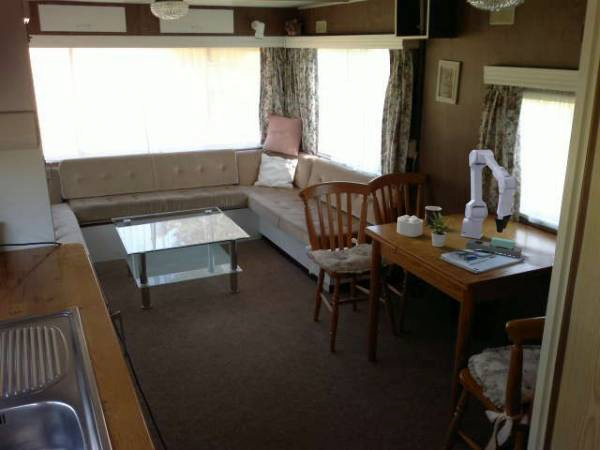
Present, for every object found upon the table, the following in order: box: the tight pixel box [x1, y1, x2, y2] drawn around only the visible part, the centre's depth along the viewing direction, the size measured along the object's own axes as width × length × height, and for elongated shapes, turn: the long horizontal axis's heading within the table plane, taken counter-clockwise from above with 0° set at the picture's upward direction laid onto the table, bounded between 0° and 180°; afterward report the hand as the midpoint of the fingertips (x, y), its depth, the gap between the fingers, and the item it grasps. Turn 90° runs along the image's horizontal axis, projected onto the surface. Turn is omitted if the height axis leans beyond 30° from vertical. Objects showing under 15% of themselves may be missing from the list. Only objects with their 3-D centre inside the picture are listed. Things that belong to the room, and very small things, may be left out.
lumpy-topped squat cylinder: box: [396, 214, 424, 238], centre depth 283 cm, size 10×13×9 cm
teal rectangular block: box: [490, 237, 516, 250], centre depth 256 cm, size 10×3×5 cm, turn 59°
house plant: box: [427, 212, 454, 248], centre depth 264 cm, size 14×14×16 cm
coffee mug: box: [424, 205, 442, 229], centre depth 295 cm, size 12×9×10 cm
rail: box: [465, 238, 523, 259], centre depth 258 cm, size 24×6×3 cm, turn 59°
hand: (501, 230), depth 258 cm, fingers open, 7 cm apart
